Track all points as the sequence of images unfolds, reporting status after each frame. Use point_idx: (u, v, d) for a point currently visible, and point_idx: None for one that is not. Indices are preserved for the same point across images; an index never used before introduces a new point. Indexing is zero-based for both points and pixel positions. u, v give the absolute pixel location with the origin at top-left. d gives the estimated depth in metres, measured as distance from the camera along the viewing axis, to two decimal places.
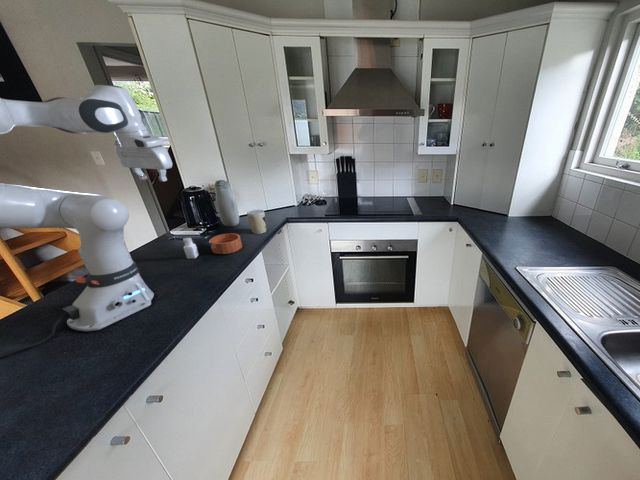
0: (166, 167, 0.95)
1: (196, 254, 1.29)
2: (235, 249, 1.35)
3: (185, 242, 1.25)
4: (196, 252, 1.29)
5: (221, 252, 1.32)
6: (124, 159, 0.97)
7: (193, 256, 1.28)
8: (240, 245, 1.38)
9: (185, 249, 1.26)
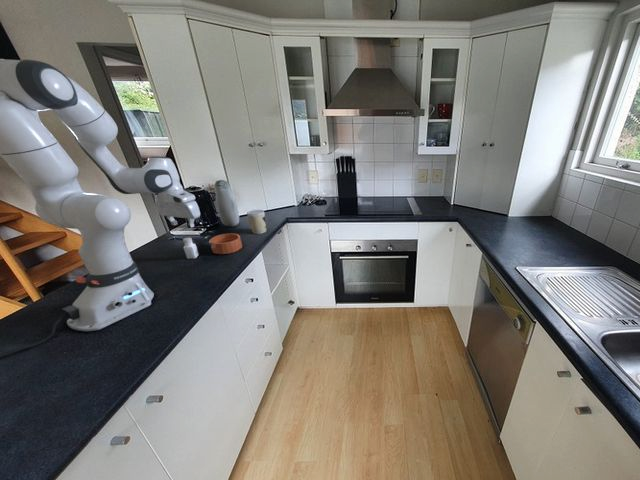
0: (195, 217, 1.18)
1: (196, 254, 1.29)
2: (235, 249, 1.35)
3: (185, 242, 1.25)
4: (196, 252, 1.29)
5: (221, 252, 1.32)
6: (161, 209, 1.20)
7: (193, 256, 1.28)
8: (240, 245, 1.38)
9: (185, 249, 1.26)
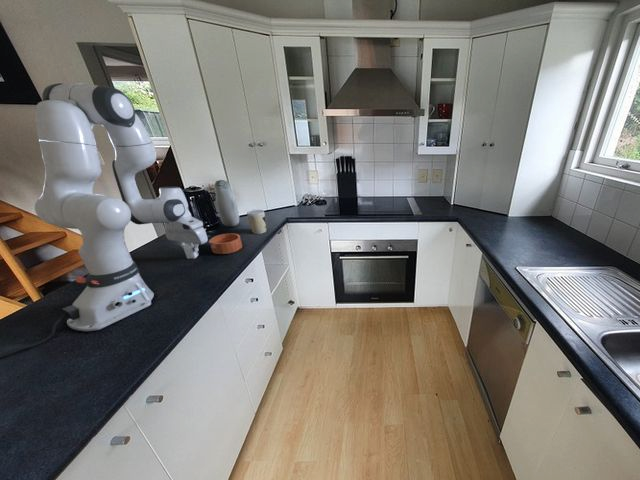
0: (203, 243, 1.23)
1: (196, 254, 1.29)
2: (235, 249, 1.35)
3: (185, 242, 1.25)
4: (196, 252, 1.29)
5: (221, 252, 1.32)
6: (170, 235, 1.25)
7: (193, 256, 1.28)
8: (240, 245, 1.38)
9: (185, 249, 1.26)
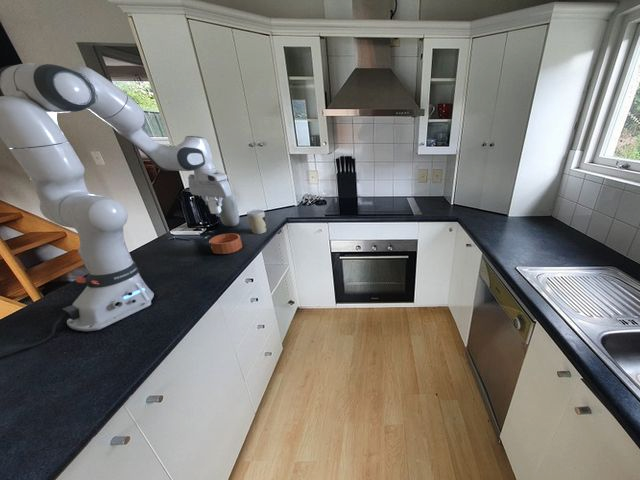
0: (227, 196, 1.23)
1: (219, 209, 1.29)
2: (235, 249, 1.35)
3: (209, 196, 1.24)
4: (219, 207, 1.29)
5: (221, 252, 1.32)
6: (194, 188, 1.24)
7: (216, 211, 1.27)
8: (240, 245, 1.38)
9: (209, 203, 1.25)
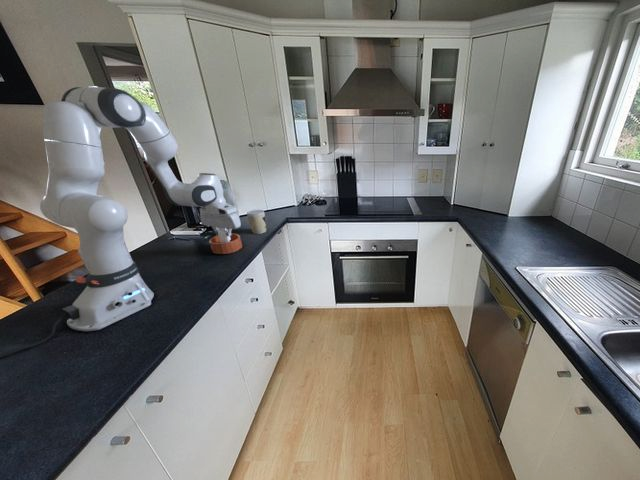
0: (237, 227, 1.30)
1: (229, 239, 1.36)
2: (235, 249, 1.35)
3: (219, 227, 1.32)
4: (229, 237, 1.36)
5: (221, 252, 1.32)
6: (205, 220, 1.31)
7: (226, 240, 1.35)
8: (240, 245, 1.38)
9: (219, 233, 1.32)
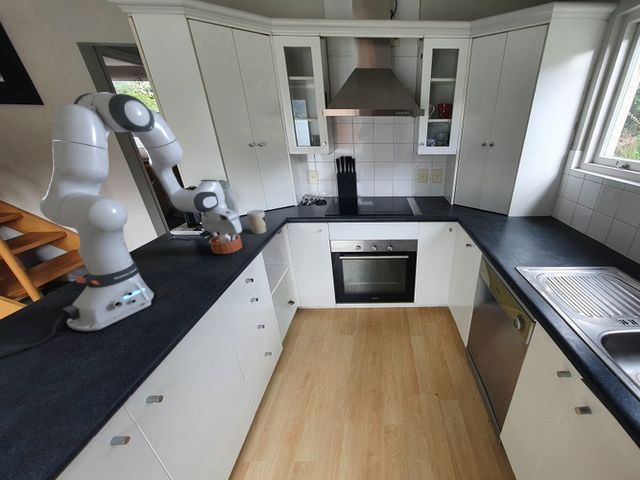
0: (238, 233, 1.31)
1: None
2: (235, 249, 1.35)
3: (221, 234, 1.33)
4: None
5: (221, 252, 1.32)
6: (207, 225, 1.33)
7: None
8: (240, 245, 1.38)
9: (221, 240, 1.34)
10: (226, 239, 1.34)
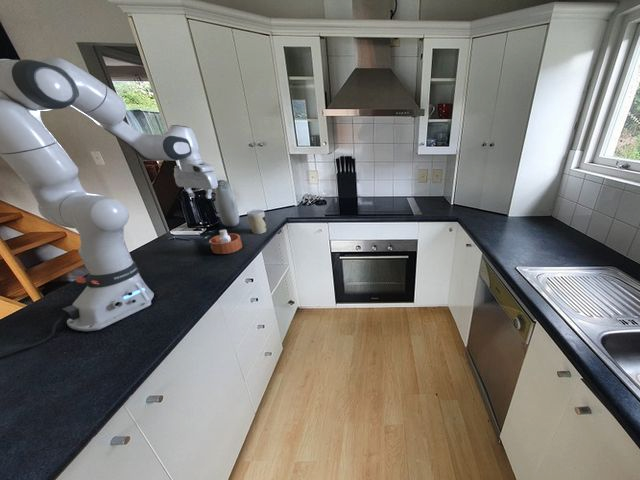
0: (213, 187, 1.20)
1: None
2: (235, 249, 1.35)
3: (221, 234, 1.33)
4: None
5: (221, 252, 1.32)
6: (180, 180, 1.22)
7: None
8: (240, 245, 1.38)
9: (221, 240, 1.34)
10: (226, 239, 1.34)
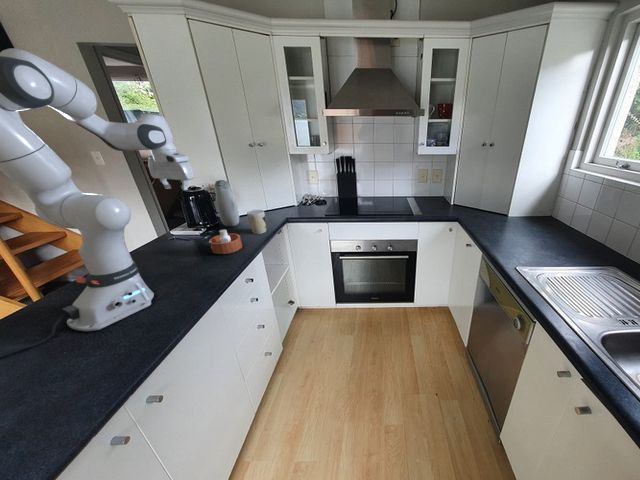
0: (189, 178, 1.16)
1: None
2: (235, 249, 1.35)
3: (221, 234, 1.33)
4: None
5: (221, 252, 1.32)
6: (154, 171, 1.18)
7: None
8: (240, 245, 1.38)
9: (221, 240, 1.34)
10: (226, 239, 1.34)
